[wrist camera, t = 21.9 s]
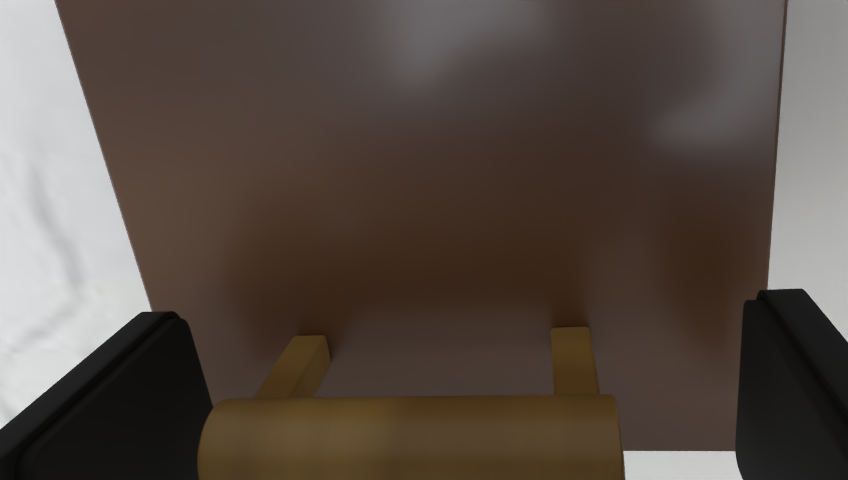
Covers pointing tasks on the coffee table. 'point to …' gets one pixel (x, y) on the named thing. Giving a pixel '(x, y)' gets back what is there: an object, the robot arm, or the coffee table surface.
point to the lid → (445, 222)
